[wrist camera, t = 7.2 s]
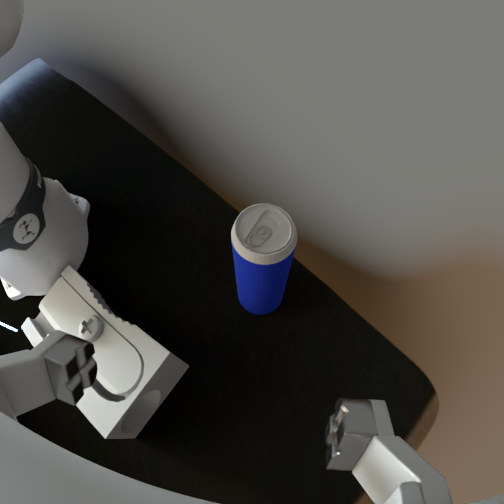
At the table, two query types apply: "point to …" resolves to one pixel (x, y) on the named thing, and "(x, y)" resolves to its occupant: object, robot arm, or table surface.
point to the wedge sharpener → (109, 357)
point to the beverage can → (262, 256)
